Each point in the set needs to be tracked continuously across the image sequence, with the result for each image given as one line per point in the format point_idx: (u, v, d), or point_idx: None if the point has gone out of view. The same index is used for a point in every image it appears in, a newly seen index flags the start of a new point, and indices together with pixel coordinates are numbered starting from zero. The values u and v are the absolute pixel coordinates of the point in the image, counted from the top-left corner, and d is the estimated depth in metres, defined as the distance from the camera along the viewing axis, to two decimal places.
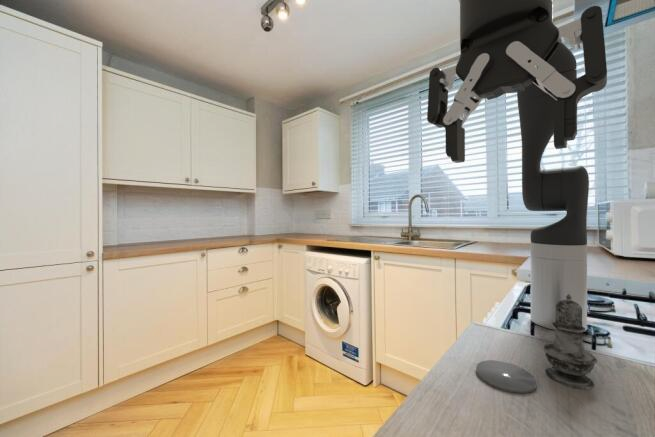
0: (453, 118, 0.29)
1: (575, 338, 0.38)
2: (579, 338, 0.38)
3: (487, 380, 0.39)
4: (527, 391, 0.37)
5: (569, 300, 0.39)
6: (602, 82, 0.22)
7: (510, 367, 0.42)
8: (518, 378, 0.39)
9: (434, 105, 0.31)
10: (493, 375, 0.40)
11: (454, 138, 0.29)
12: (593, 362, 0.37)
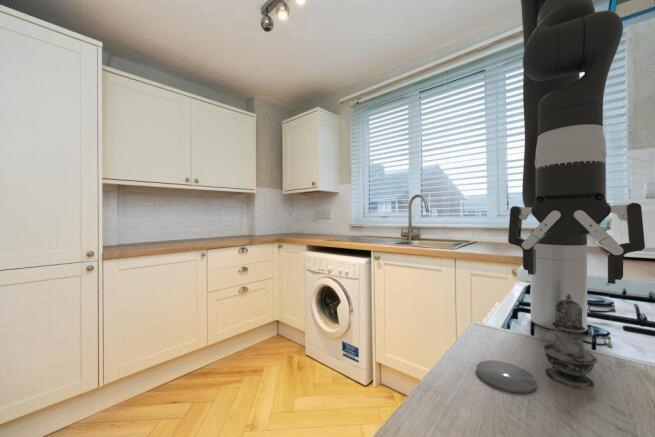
0: (530, 245, 0.42)
1: (575, 338, 0.38)
2: (579, 338, 0.38)
3: (487, 380, 0.39)
4: (527, 391, 0.37)
5: (569, 300, 0.39)
6: None
7: (510, 367, 0.42)
8: (518, 378, 0.39)
9: (514, 232, 0.43)
10: (493, 375, 0.40)
11: (531, 259, 0.42)
12: (593, 362, 0.37)
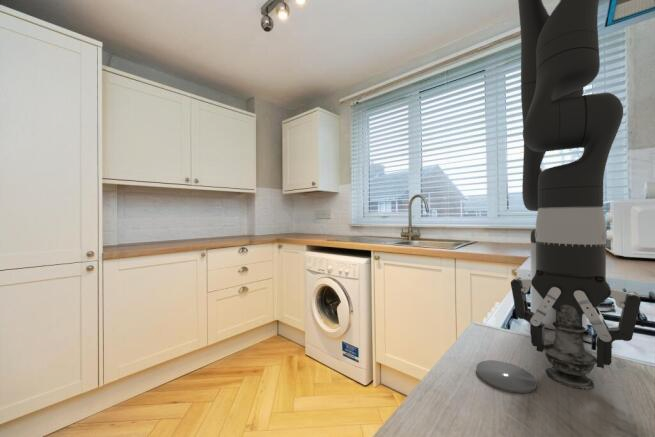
0: (539, 323, 0.41)
1: (575, 338, 0.38)
2: (579, 338, 0.38)
3: (487, 380, 0.39)
4: (527, 391, 0.37)
5: None
6: None
7: (510, 367, 0.42)
8: (518, 378, 0.39)
9: (520, 306, 0.43)
10: (493, 375, 0.40)
11: (539, 337, 0.41)
12: (593, 362, 0.37)
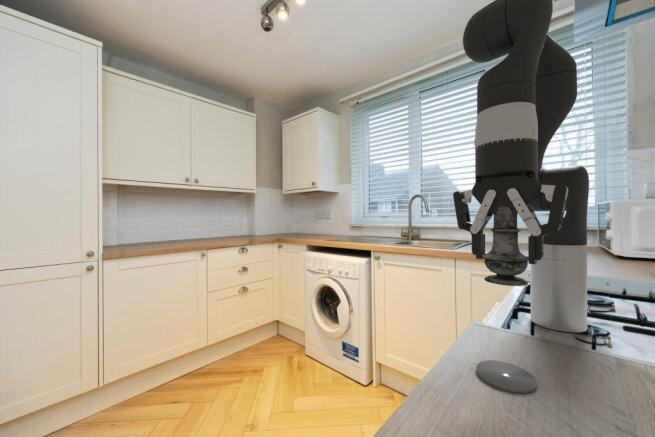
0: (477, 230, 0.41)
1: (509, 238, 0.38)
2: (513, 238, 0.39)
3: (487, 380, 0.39)
4: (527, 391, 0.37)
5: None
6: (556, 230, 0.36)
7: (510, 367, 0.42)
8: (518, 378, 0.39)
9: (461, 217, 0.43)
10: (493, 375, 0.40)
11: (478, 244, 0.41)
12: (525, 259, 0.37)
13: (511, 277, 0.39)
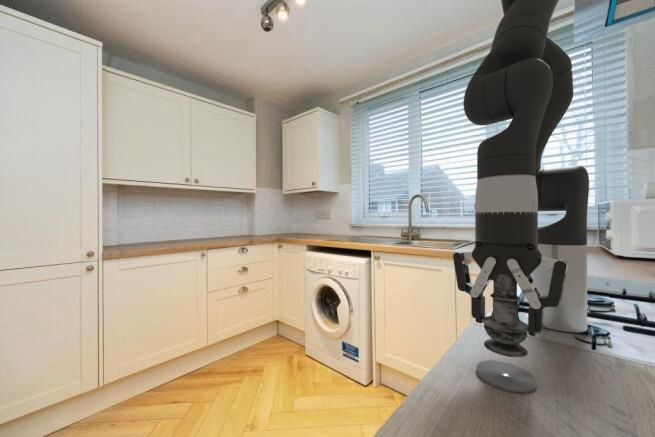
0: (477, 294, 0.41)
1: (509, 307, 0.38)
2: (513, 307, 0.38)
3: (487, 380, 0.39)
4: (527, 391, 0.37)
5: None
6: None
7: (510, 367, 0.42)
8: (518, 378, 0.39)
9: (461, 279, 0.43)
10: (493, 375, 0.40)
11: (478, 308, 0.41)
12: (525, 330, 0.37)
13: (511, 346, 0.39)
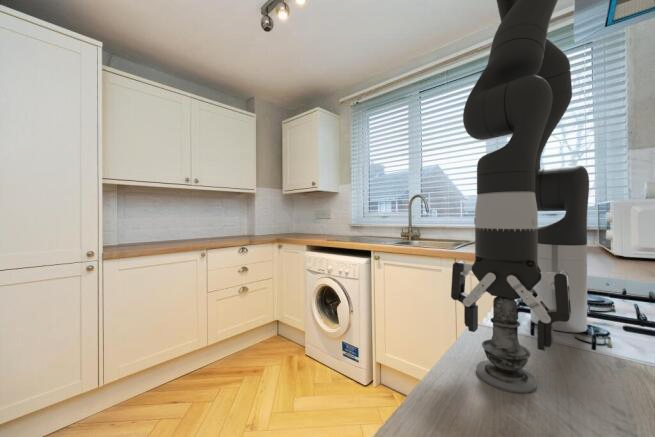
0: (470, 303, 0.42)
1: (509, 333, 0.39)
2: (513, 333, 0.39)
3: (487, 380, 0.39)
4: (527, 391, 0.37)
5: None
6: None
7: None
8: None
9: (456, 288, 0.44)
10: None
11: (471, 317, 0.42)
12: (525, 357, 0.37)
13: (511, 371, 0.39)
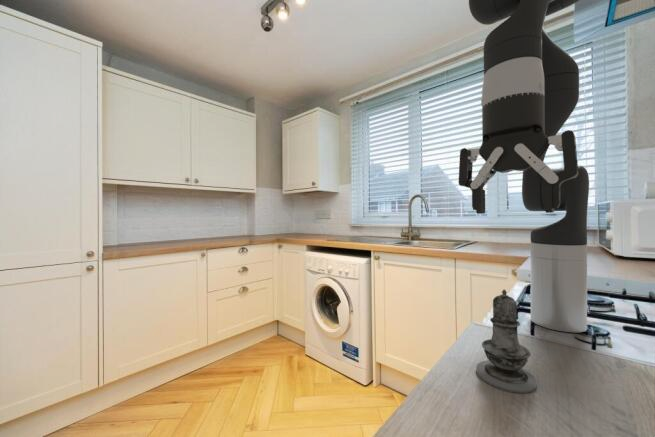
0: (478, 185, 0.43)
1: (509, 333, 0.39)
2: (513, 333, 0.39)
3: (487, 380, 0.39)
4: (527, 391, 0.37)
5: (504, 295, 0.40)
6: (574, 176, 0.36)
7: None
8: None
9: (464, 174, 0.44)
10: None
11: (478, 198, 0.43)
12: (525, 356, 0.37)
13: (511, 371, 0.39)
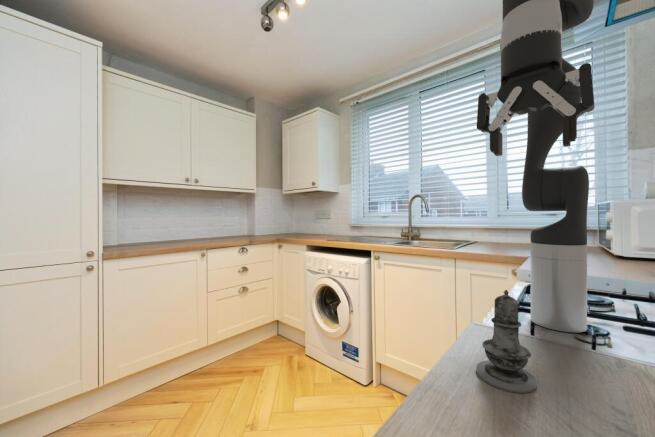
0: (496, 126, 0.45)
1: (510, 333, 0.39)
2: (514, 333, 0.39)
3: (487, 380, 0.39)
4: (527, 391, 0.37)
5: (506, 296, 0.40)
6: (591, 107, 0.37)
7: None
8: None
9: (482, 118, 0.46)
10: None
11: (496, 140, 0.45)
12: (526, 357, 0.37)
13: (511, 371, 0.39)
